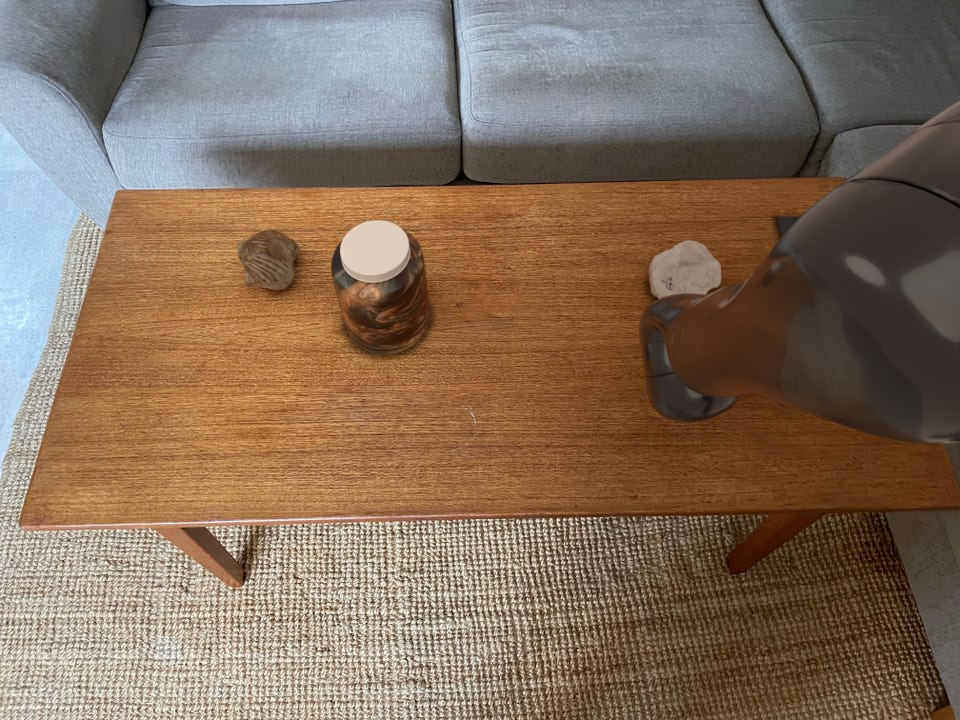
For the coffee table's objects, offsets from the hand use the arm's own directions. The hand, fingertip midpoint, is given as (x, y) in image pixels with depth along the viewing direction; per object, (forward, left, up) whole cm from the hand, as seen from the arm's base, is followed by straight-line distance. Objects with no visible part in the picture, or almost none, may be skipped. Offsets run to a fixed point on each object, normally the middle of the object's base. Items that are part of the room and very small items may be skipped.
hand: (763, 360), depth 81 cm
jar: (+37, +32, -5) cm, 49 cm away
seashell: (+54, +40, -5) cm, 67 cm away
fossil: (+16, -4, -5) cm, 18 cm away
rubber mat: (+10, -25, -4) cm, 28 cm away
